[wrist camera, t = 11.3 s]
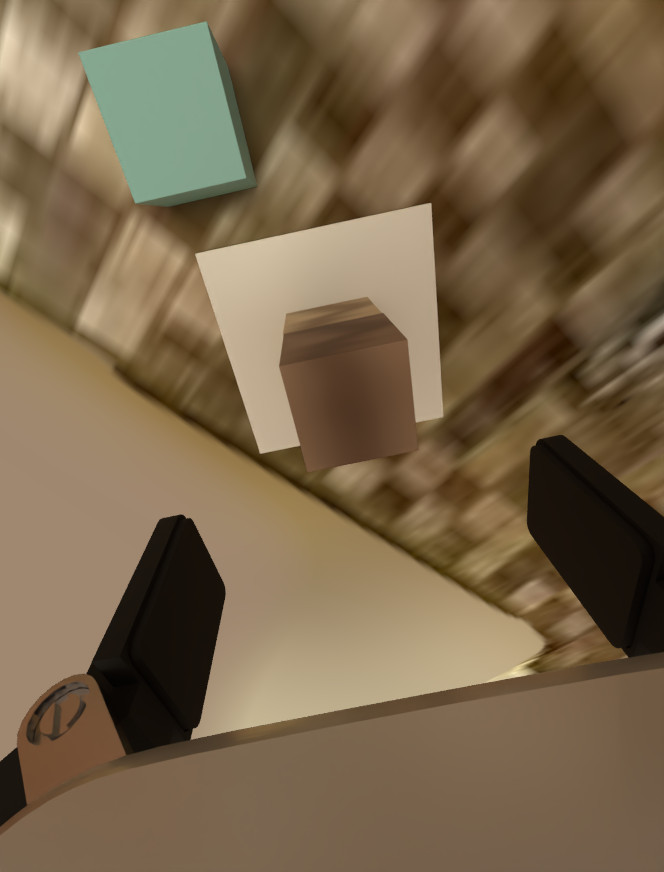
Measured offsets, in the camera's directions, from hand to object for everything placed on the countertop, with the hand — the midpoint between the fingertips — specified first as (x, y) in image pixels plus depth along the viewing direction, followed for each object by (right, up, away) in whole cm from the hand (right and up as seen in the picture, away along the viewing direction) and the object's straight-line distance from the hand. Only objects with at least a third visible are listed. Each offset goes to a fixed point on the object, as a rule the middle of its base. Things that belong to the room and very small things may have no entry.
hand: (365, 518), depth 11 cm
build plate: (-1, +10, +20) cm, 22 cm away
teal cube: (-9, +21, +14) cm, 26 cm away
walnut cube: (0, +6, +14) cm, 15 cm away
